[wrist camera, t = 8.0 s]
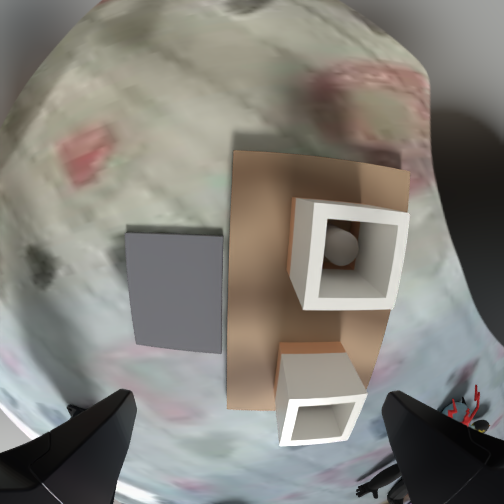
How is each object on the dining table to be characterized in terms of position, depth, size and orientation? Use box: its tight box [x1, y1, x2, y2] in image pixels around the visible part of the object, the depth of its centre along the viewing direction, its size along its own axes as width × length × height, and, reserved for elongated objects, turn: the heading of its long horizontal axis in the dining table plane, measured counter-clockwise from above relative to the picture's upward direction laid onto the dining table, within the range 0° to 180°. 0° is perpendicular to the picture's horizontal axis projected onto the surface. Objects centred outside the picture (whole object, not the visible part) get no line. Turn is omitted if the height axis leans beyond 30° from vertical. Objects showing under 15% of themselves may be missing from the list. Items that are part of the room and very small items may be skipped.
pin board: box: [227, 150, 410, 411], centre depth 17 cm, size 20×12×5 cm, turn 177°
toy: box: [356, 385, 490, 504], centre depth 23 cm, size 26×8×30 cm
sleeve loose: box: [286, 197, 410, 310], centre depth 14 cm, size 5×5×6 cm
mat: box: [125, 232, 223, 354], centre depth 19 cm, size 9×7×1 cm
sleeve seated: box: [274, 342, 368, 446], centre depth 16 cm, size 5×5×6 cm
